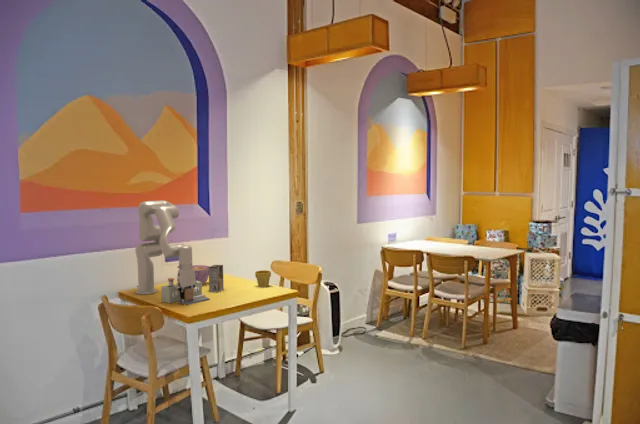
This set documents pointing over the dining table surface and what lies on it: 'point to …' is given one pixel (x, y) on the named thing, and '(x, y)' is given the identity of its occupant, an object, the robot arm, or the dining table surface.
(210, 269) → the coffee box
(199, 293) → the cabinet
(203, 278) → the bowl of food
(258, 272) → the plant pot
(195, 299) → the rail board
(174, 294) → the cabinet
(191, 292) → the brown upright block
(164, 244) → the robot arm
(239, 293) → the dining table surface
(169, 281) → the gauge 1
